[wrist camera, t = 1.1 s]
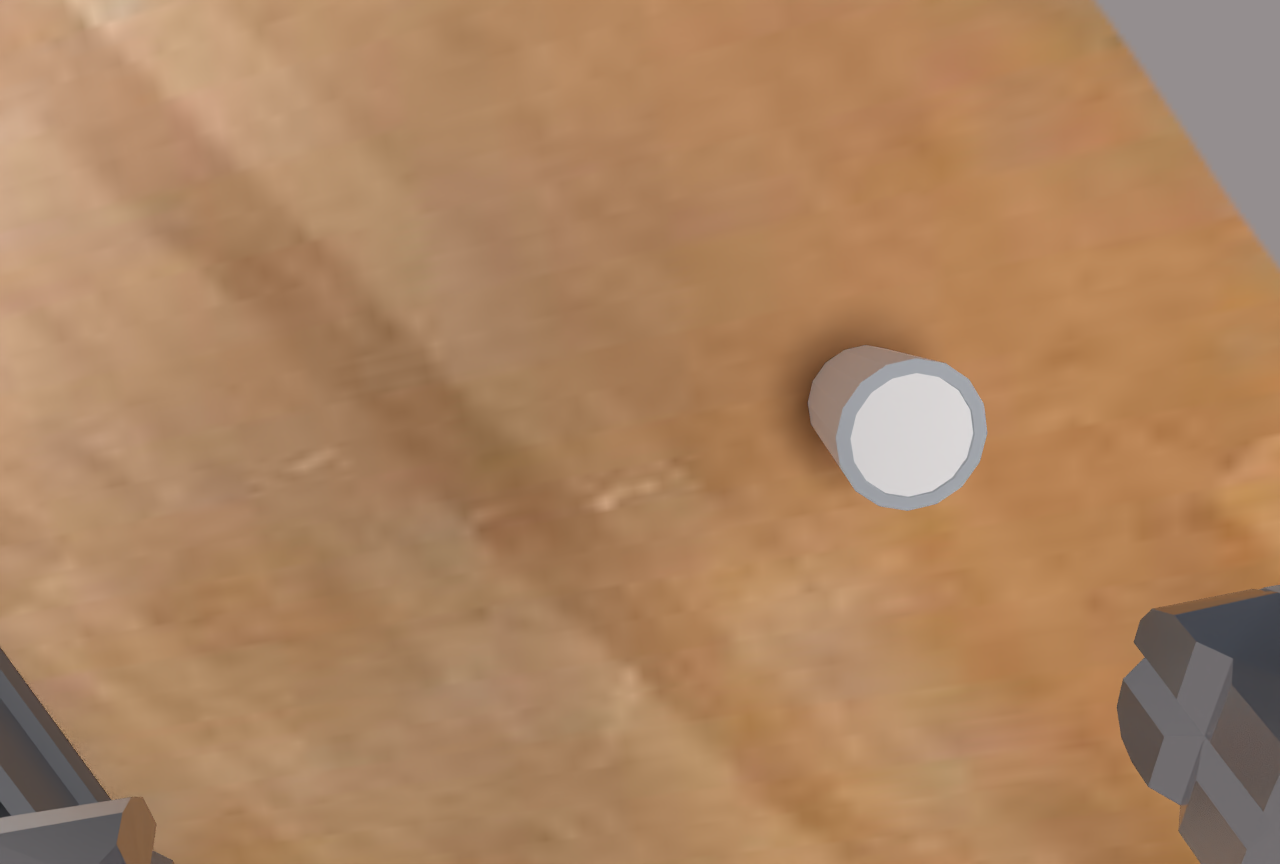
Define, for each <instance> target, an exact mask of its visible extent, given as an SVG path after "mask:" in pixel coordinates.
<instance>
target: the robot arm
mask: <svg viewBox="0 0 1280 864" xmlns="http://www.w3.org/2000/svg"><path fill="white" fill-rule="evenodd" d="M1134 643H1135V645H1136V646H1137V647H1138V649H1139V650H1140V651H1141V653H1142V654H1143V655H1144V657H1145V658H1144V659H1143V660H1142V661H1141V662H1140V663H1139V664H1138V665H1137V666H1136V667H1135V668H1134V669H1133V670H1132V671H1131V672H1130V673H1129V674H1128V675H1127V676H1126V677H1125V678H1124V679H1123V682H1122V686H1121V690H1120V695H1119V699H1118V704H1117V712H1118V718H1119V725H1120V731H1121V738H1122V740H1123V742H1124V745H1125V747H1126V749H1127V752H1128V754H1129V756H1130V759H1131V761H1132V763H1133V764H1134V766H1135V767H1136V769H1137V770H1138V772H1139V774H1140V775H1141V777H1142V778H1143V780H1144V781H1145V783H1146V784H1147V786H1148V787H1150V788H1151V789H1153V790H1155V791H1156V792H1158V793H1160V794H1162V795H1163V796H1165V797H1167V798H1169V799H1170V800H1172V801H1174V802H1175V803H1177V804H1179V805H1180V814H1179V829H1178V831H1179V833H1180V834H1181V836H1182V837H1183V838H1184V840H1185V841H1186V843H1187V844H1188V846H1189V847H1190V849H1191V850H1192V851H1193V853H1194V854H1195V856H1196V857H1197V859H1198V860H1199V862H1200V863H1201V864H1280V585H1276V586H1271V587H1265V588H1262V589H1259V590H1258V589H1250V590H1245V591H1240V592H1235V593H1230V594H1224V595H1219V596H1214V597H1209V598H1204V599H1199V600H1194V601H1189V602H1184V603H1179V604H1174V605H1169V606H1163V607H1158V608H1153V609H1151V610H1150V611H1149V612H1148V613H1147V614H1146V615H1145V616H1144V617H1143V618H1142V619H1141V620H1140V623H1139V627H1138V630H1137V633H1136V636H1135V640H1134ZM156 825H157V824H156V822H155V820H154V818H153V816H152V814H151V812H150V811H149V809H148V807H147V805H146V803H145V801H144V799H143V797H129V798H123V799H117V800H110V801H104V802H98V803H91V804H85V805H79V806H72V807H66V808H60V809H53V810H47V811H41V812H34V813H28V814H22V815H15V816H9V817H2V818H0V864H174V862H173V860H171V859H169V858H167V857H165V856H163V855H160V854H158V853H156V852H154V851H152V850H153V844H154V837H155V831H156Z"/></svg>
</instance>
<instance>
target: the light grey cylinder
mask: <svg viewBox="0 0 1280 864" xmlns="http://www.w3.org/2000/svg"><path fill="white" fill-rule="evenodd" d="M808 409H809V415H810V421H811V425H812V426H813V428H814V430H815V431H816V433H817V434H818V436H819V437H820V439H821V440H822V442H823V443H824V445H825V446H826V448H827V449H828V451H829V452H830V454H831V455H832V457H833V458H834V460H835V461H836V463H837V464H838V466H839V467H840V469H841V470H842V472H843V473H844V474H845V476H846V477H847V479H848V480H849V482H850V483H851V485H852V486H853V488H854V489H855V491H856V492H858V493H859V494H861V495H863V496H864V497H866V498H867V499H869V500H870V501H872V502H874V503H875V504H877V505H878V506H881V507H888V508H894V509H900V510H907V511H908V510H913V509H917V508H921V507H925V506H930V505H934V504H937V503H939V502H940V501H942V500H943V499H945V498H946V497H947V496H949V495H950V494H952V493H953V492H955V491H956V490H958V489H959V488H961V487H962V486H963V484H964V483H965V482H966V480H967V479H968V477H969V476H970V475H971V473H972V472H973V471H974V469H975V468H976V466H977V465H978V464H979V462H980V459H981V455H982V451H983V447H984V444H985V440H986V436H987V426H986V418H985V410H984V404H983V402H982V400H981V399H980V397H979V395H978V394H977V392H976V390H975V389H974V387H973V385H972V384H971V382H970V380H969V379H968V378H966V377H965V376H963V375H962V374H960V373H959V372H957V371H956V370H955V369H953V368H952V367H950V366H949V365H947V364H946V363H942V362H938V361H934V360H930V359H926V358H922V357H918V356H914V355H910V354H906V353H902V352H898V351H894V350H890V349H885V348H880V347H874V346H869V345H863V346H859V347H855V348H850V349H846V350H843V351H842V352H840V353H839V354H837V355H836V356H834V357H833V358H832V359H830V360H829V361H827V362H826V363H825V364H824V366H823V367H822V368H821V370H820V371H819V373H818V374H817V376H816V377H815V379H814V380H813V382H812V386H811V390H810V395H809V399H808Z"/></svg>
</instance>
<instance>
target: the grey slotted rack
mask: <svg viewBox="0 0 1280 864" xmlns="http://www.w3.org/2000/svg"><path fill="white" fill-rule="evenodd" d="M110 800H111V799H110V798H109V797H108V795H107V794H106V793H105V791H104V790H103V788H102V787H101V786H100V784H99V783H98V782H97V780H96V779H95V777H94V776H93V775H92V773H91V772H90V771H89V769H88V768H87V767H86V765H85V764H84V762H83V761H82V760H81V758H80V757H79V756H78V754H77V753H76V751H75V750H74V749H73V747H72V746H71V745H70V743H69V742H68V740H67V739H66V738H65V736H64V735H63V734H62V732H61V731H60V729H59V728H58V727H57V725H56V724H55V723H54V721H53V720H52V718H51V717H50V716H49V714H48V713H47V712H46V710H45V709H44V707H43V706H42V705H41V703H40V702H39V701H38V699H37V698H36V697H35V695H34V694H33V692H32V691H31V690H30V688H29V687H28V686H27V684H26V683H25V681H24V680H23V679H22V677H21V676H20V675H19V673H18V672H17V670H16V669H15V668H14V666H13V665H12V664H11V662H10V661H9V659H8V658H7V657H6V655H5V654H4V653H3V651H2V650H1V648H0V818H2V817H9V816H15V815H22V814H28V813H34V812H41V811H47V810H53V809H60V808H66V807H72V806H79V805H85V804H91V803H98V802H104V801H110Z"/></svg>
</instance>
